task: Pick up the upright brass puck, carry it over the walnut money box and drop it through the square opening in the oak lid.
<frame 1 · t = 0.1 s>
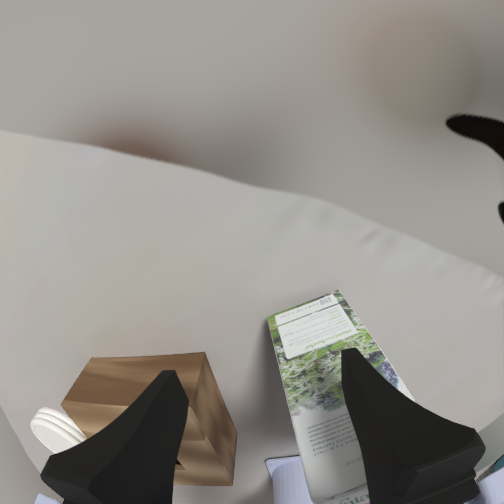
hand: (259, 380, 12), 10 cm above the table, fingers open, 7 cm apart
syrup box: (310, 328, 22), on the table
coaster: (67, 428, 31), on the table
money box: (165, 401, 26), on the table
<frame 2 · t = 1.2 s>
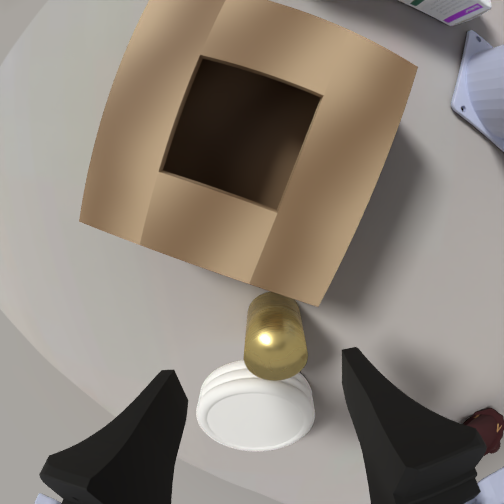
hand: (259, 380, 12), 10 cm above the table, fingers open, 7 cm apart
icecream: (472, 416, 28), on the table
coaster: (256, 394, 25), on the table
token: (273, 314, 22), on the table
money box: (247, 135, 17), on the table
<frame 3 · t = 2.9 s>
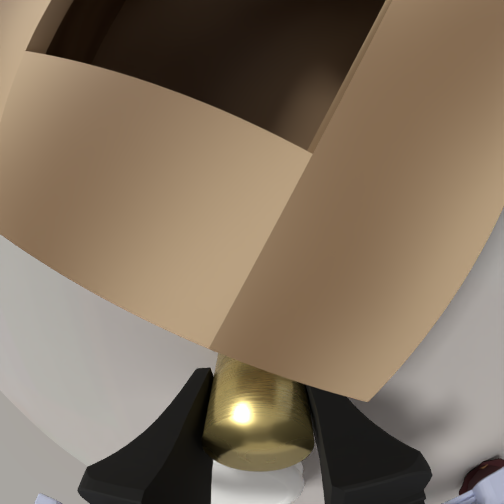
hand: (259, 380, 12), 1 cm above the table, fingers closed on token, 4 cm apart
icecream: (477, 465, 20), on the table
coaster: (225, 449, 17), on the table
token: (259, 358, 13), on the table, touching gripper
money box: (246, 55, 9), on the table
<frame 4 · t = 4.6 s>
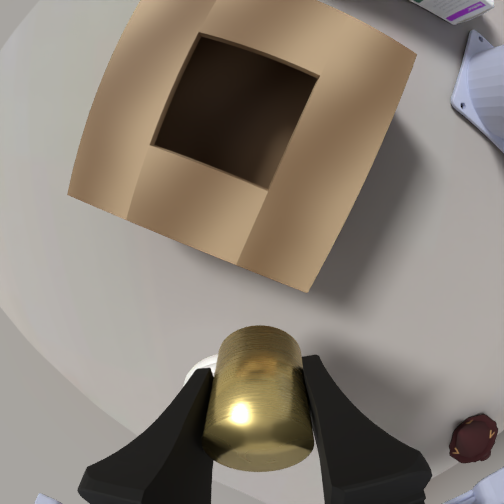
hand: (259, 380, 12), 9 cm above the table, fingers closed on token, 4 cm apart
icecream: (464, 422, 28), on the table
coaster: (241, 389, 25), on the table
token: (259, 359, 13), point 8 cm above the table, touching gripper
money box: (243, 120, 17), on the table
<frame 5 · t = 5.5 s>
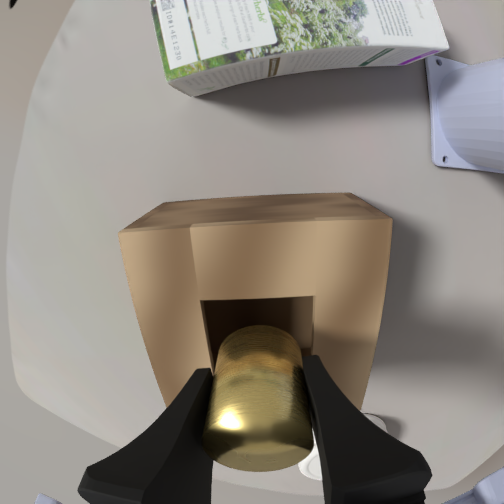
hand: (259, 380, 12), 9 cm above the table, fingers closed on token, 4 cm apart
syrup box: (165, 49, 13), point 3 cm above the table
coaster: (341, 436, 27), on the table
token: (259, 358, 13), point 8 cm above the table, touching gripper
money box: (261, 283, 21), on the table
when the fingers open (9 cm above the table, at t = 6.1 s): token drops 6 cm, resting on money box.
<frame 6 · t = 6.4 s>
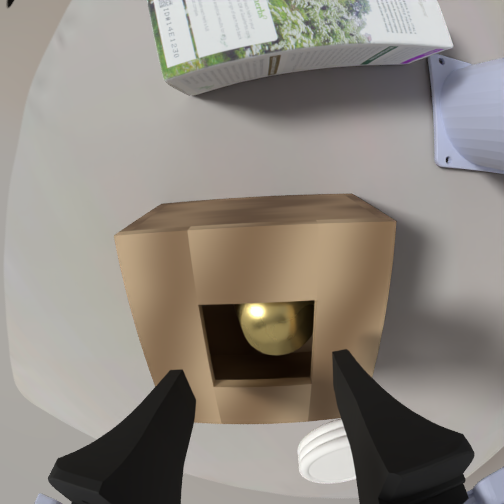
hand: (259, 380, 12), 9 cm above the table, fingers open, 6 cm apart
syrup box: (163, 47, 12), point 3 cm above the table
coaster: (342, 439, 27), on the table
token: (261, 294, 19), point 1 cm above the table, tilted 18°, touching money box
money box: (260, 286, 20), on the table
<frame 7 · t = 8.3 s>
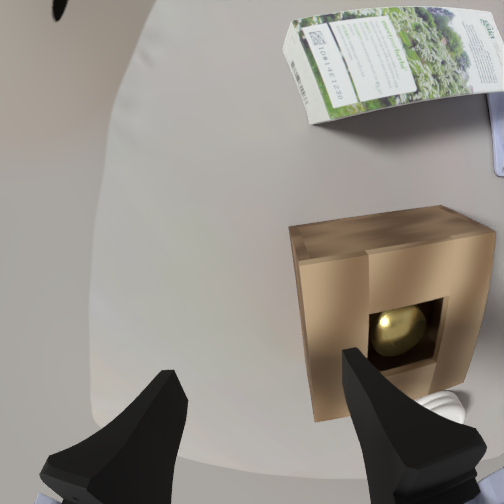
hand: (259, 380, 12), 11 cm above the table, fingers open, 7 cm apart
syrup box: (298, 79, 14), point 3 cm above the table
coaster: (421, 415, 28), on the table
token: (376, 294, 21), point 1 cm above the table, touching money box
money box: (374, 290, 22), on the table
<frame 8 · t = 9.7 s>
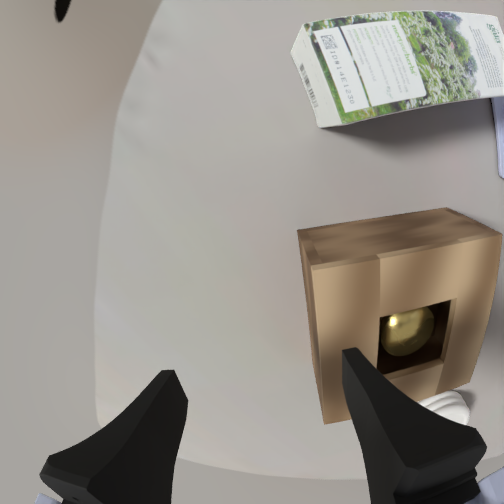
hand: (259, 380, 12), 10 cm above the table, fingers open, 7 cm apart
syrup box: (308, 83, 14), point 3 cm above the table
coaster: (426, 415, 28), on the table
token: (383, 296, 21), point 1 cm above the table, touching money box
money box: (381, 292, 22), on the table
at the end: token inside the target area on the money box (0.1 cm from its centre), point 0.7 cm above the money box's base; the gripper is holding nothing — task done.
